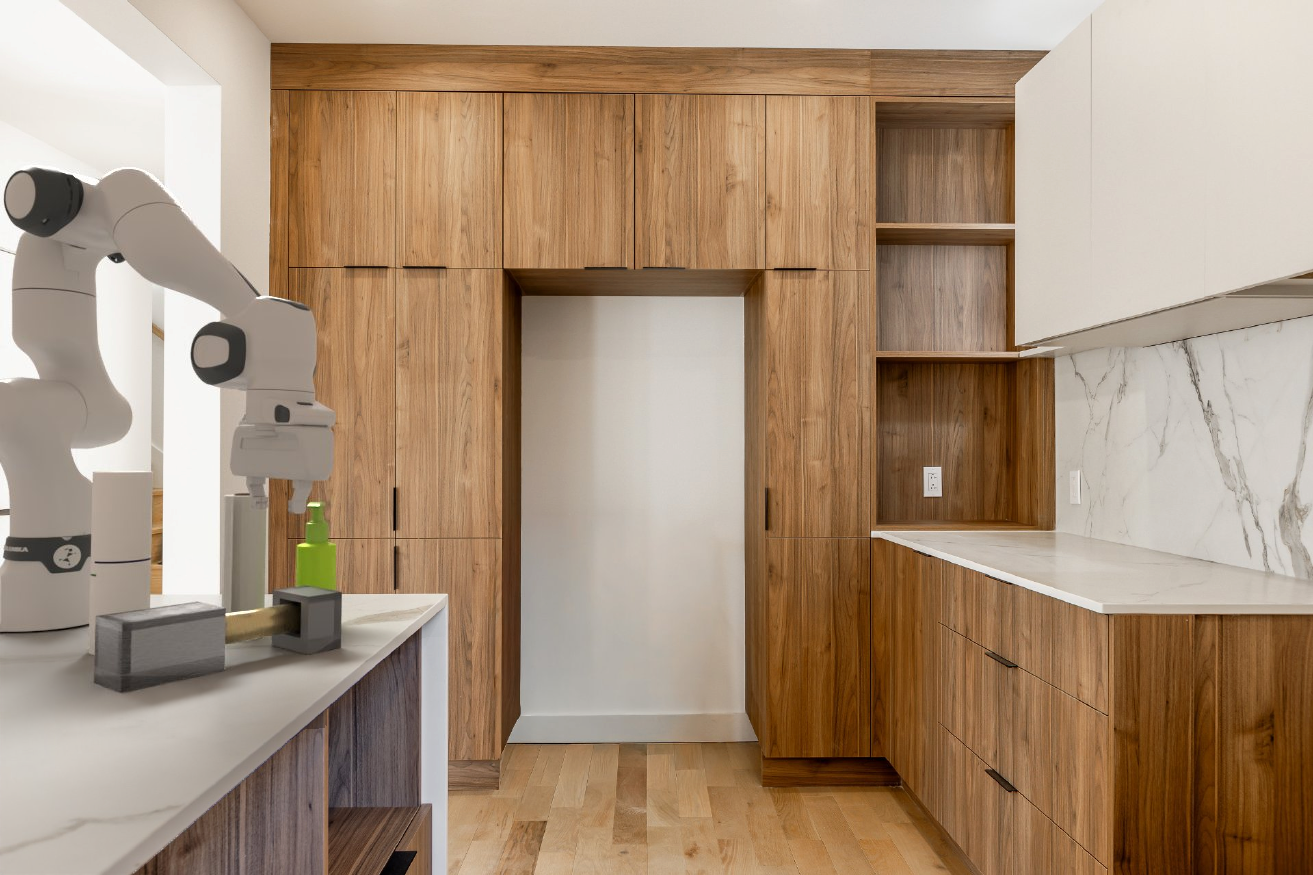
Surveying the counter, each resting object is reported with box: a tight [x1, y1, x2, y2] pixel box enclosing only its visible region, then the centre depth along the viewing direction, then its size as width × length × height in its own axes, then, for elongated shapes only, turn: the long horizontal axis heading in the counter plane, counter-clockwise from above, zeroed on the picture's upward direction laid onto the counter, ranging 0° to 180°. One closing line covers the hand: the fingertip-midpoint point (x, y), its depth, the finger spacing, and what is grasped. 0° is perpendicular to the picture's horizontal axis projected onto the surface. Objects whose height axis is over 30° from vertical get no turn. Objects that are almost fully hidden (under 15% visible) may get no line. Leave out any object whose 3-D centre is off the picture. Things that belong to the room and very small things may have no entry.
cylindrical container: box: [88, 470, 154, 656], centre depth 115 cm, size 7×7×25 cm
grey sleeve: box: [93, 601, 226, 694], centre depth 101 cm, size 12×7×8 cm, turn 145°
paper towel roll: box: [221, 492, 268, 614], centre depth 127 cm, size 7×6×21 cm
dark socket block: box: [271, 585, 343, 655], centre depth 118 cm, size 5×9×8 cm, turn 55°
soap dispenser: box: [295, 501, 337, 591], centre depth 131 cm, size 6×7×20 cm
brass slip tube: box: [225, 601, 301, 646], centre depth 111 cm, size 16×5×5 cm, turn 145°
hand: (277, 511), depth 114 cm, fingers open, 8 cm apart
